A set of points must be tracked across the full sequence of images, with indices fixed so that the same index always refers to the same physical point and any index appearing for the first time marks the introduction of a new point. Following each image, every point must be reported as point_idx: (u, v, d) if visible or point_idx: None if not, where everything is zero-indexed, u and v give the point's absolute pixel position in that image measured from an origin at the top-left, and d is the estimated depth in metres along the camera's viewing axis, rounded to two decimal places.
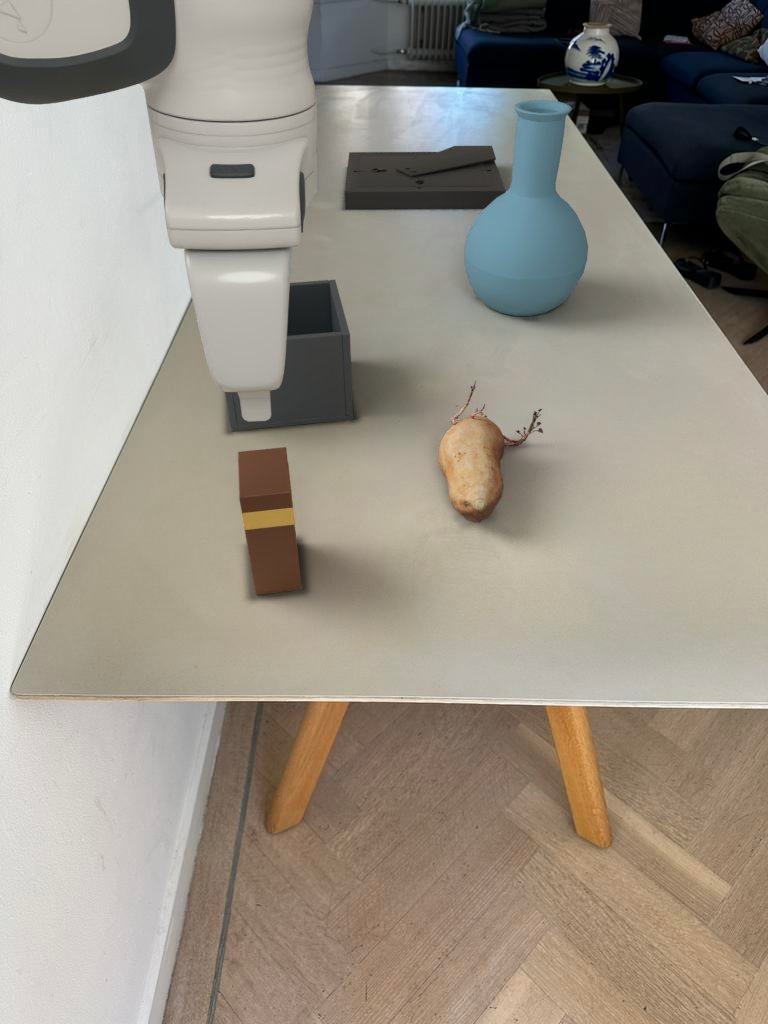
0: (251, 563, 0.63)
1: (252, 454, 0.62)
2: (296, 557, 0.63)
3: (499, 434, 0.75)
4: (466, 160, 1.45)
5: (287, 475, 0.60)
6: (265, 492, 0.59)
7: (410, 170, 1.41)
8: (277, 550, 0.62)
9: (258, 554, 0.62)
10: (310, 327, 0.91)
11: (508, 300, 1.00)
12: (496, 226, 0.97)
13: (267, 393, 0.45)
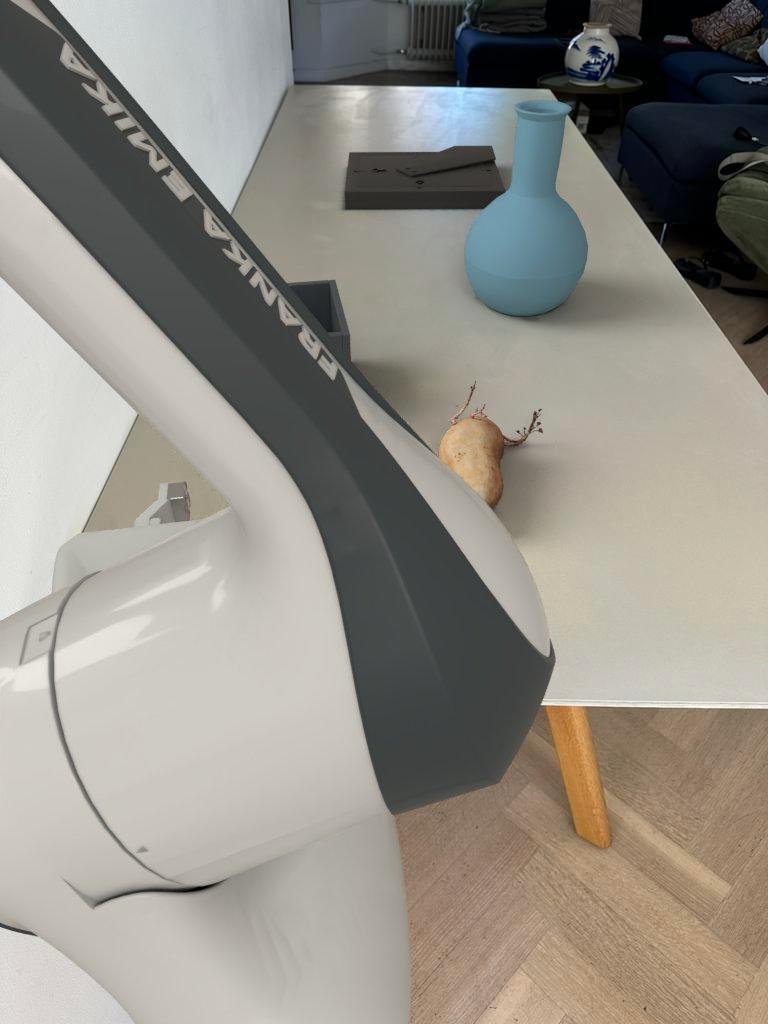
0: None
1: None
2: None
3: (499, 434, 0.75)
4: (466, 160, 1.45)
5: None
6: None
7: (410, 170, 1.41)
8: None
9: None
10: None
11: (508, 300, 1.00)
12: (496, 226, 0.97)
13: None
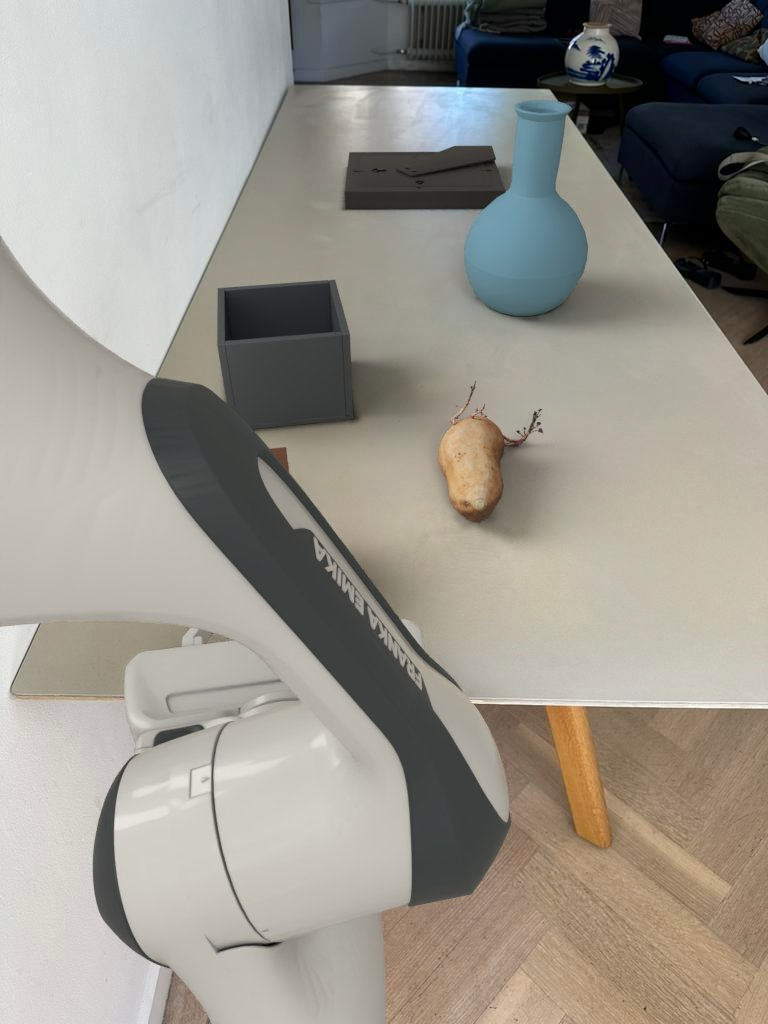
0: None
1: None
2: None
3: (499, 434, 0.75)
4: (466, 160, 1.45)
5: None
6: None
7: (410, 170, 1.41)
8: None
9: None
10: (310, 327, 0.91)
11: (508, 300, 1.00)
12: (496, 226, 0.97)
13: None
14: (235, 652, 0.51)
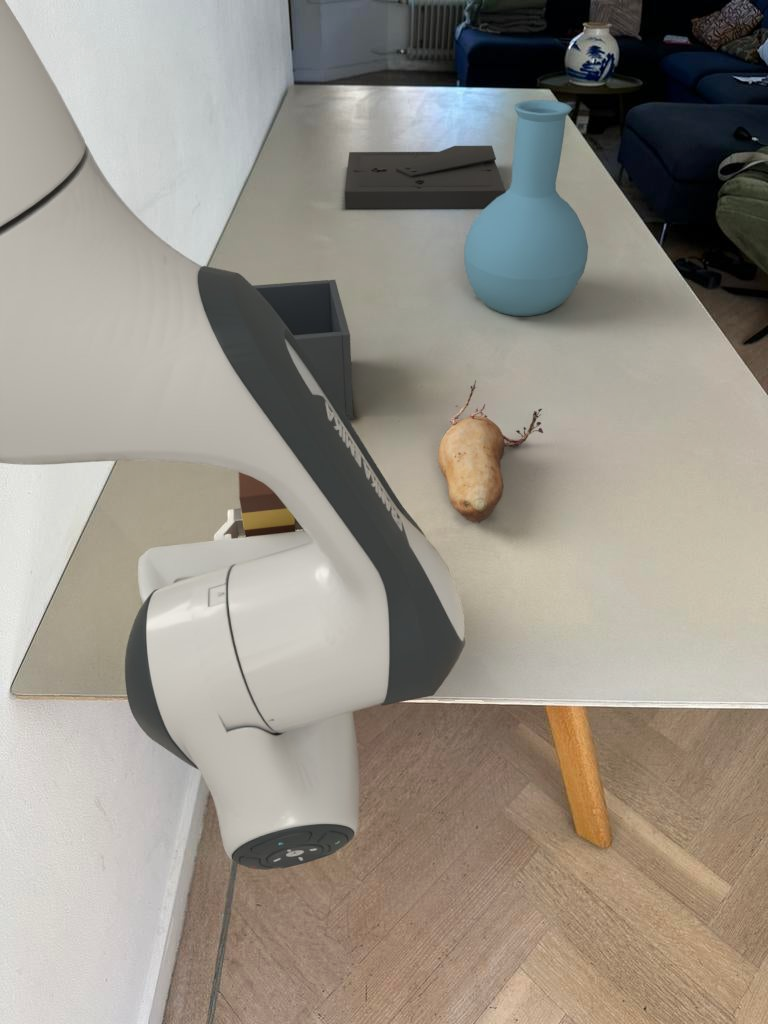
0: None
1: None
2: None
3: (499, 434, 0.75)
4: (466, 160, 1.45)
5: None
6: (265, 492, 0.59)
7: (410, 170, 1.41)
8: None
9: None
10: (310, 327, 0.91)
11: (508, 300, 1.00)
12: (496, 226, 0.97)
13: None
14: (234, 547, 0.59)
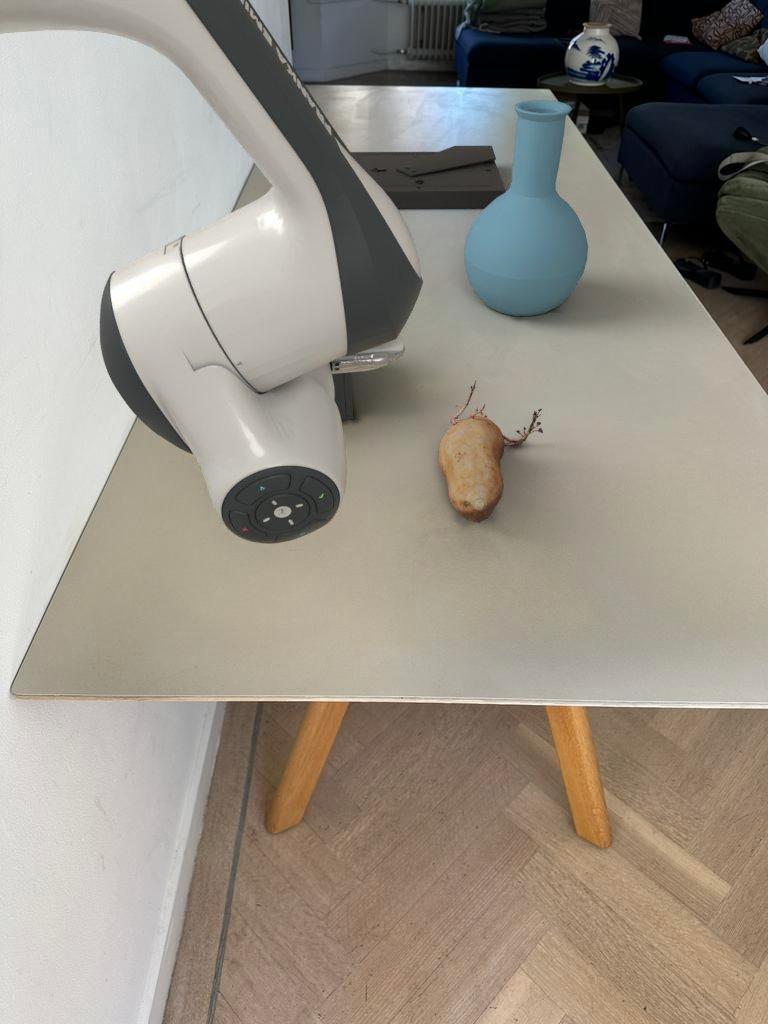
0: None
1: None
2: None
3: (499, 434, 0.75)
4: (466, 160, 1.45)
5: None
6: None
7: (410, 170, 1.41)
8: None
9: None
10: None
11: (508, 300, 1.00)
12: (496, 226, 0.97)
13: None
14: None
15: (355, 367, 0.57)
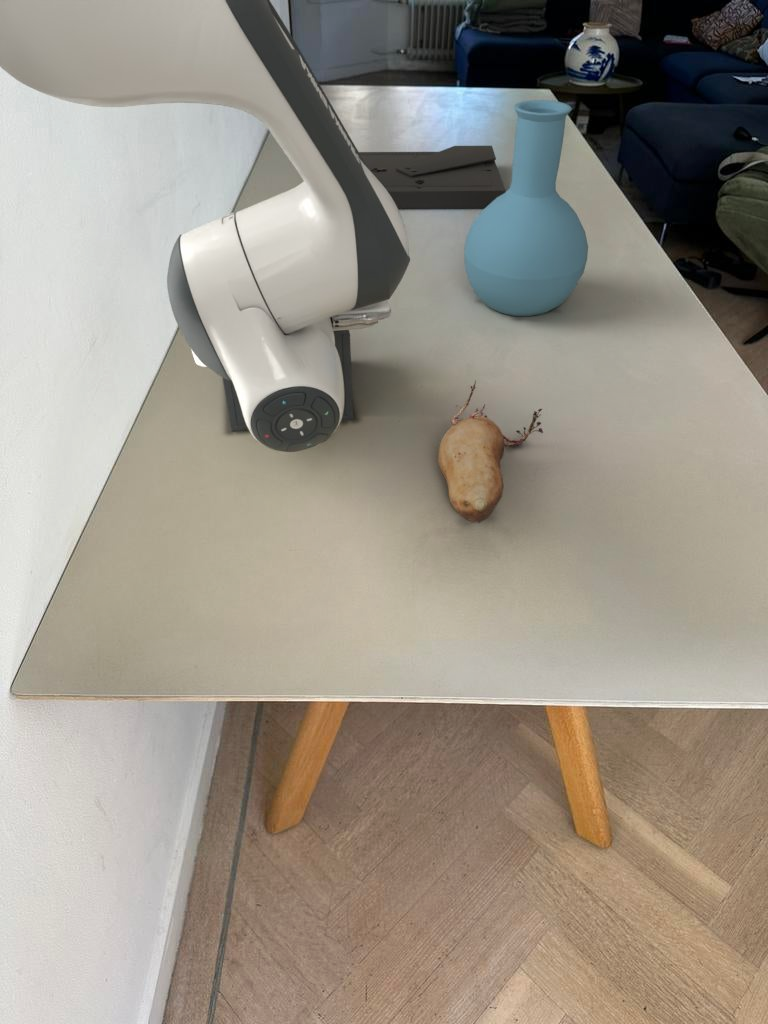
0: None
1: None
2: None
3: (499, 434, 0.75)
4: (466, 160, 1.45)
5: None
6: None
7: (410, 170, 1.41)
8: None
9: None
10: None
11: (508, 300, 1.00)
12: (496, 226, 0.97)
13: None
14: None
15: (351, 324, 0.71)
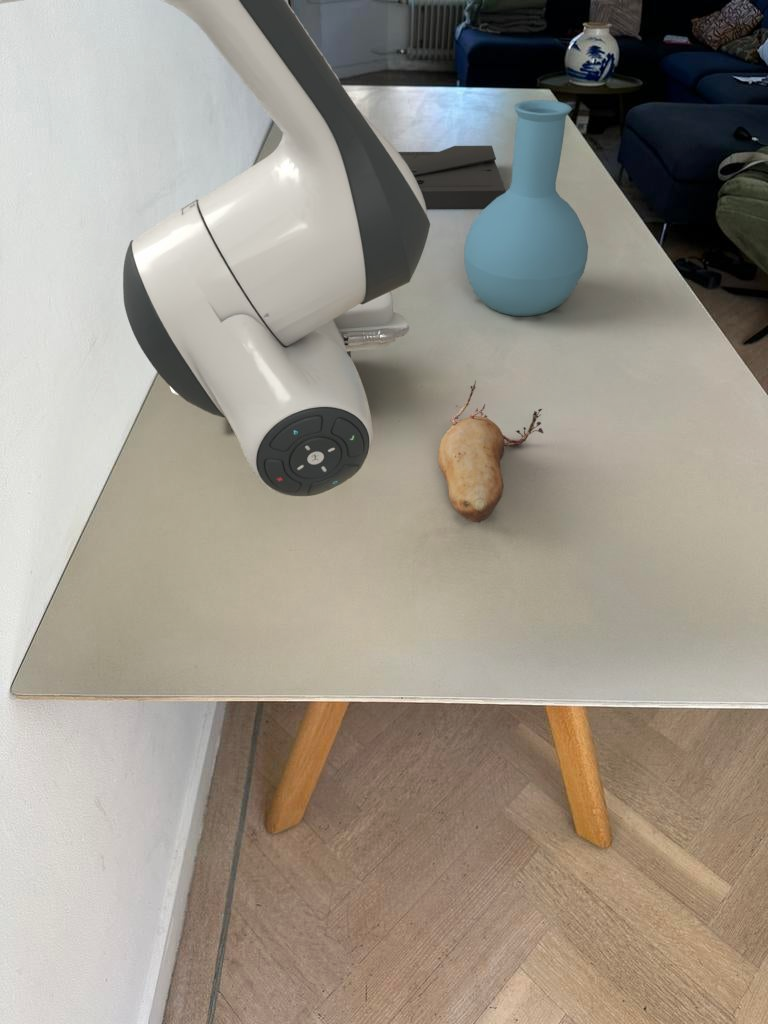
0: None
1: None
2: None
3: (499, 434, 0.75)
4: (466, 160, 1.45)
5: None
6: None
7: None
8: None
9: None
10: None
11: (508, 300, 1.00)
12: (496, 226, 0.97)
13: None
14: None
15: (363, 342, 0.59)
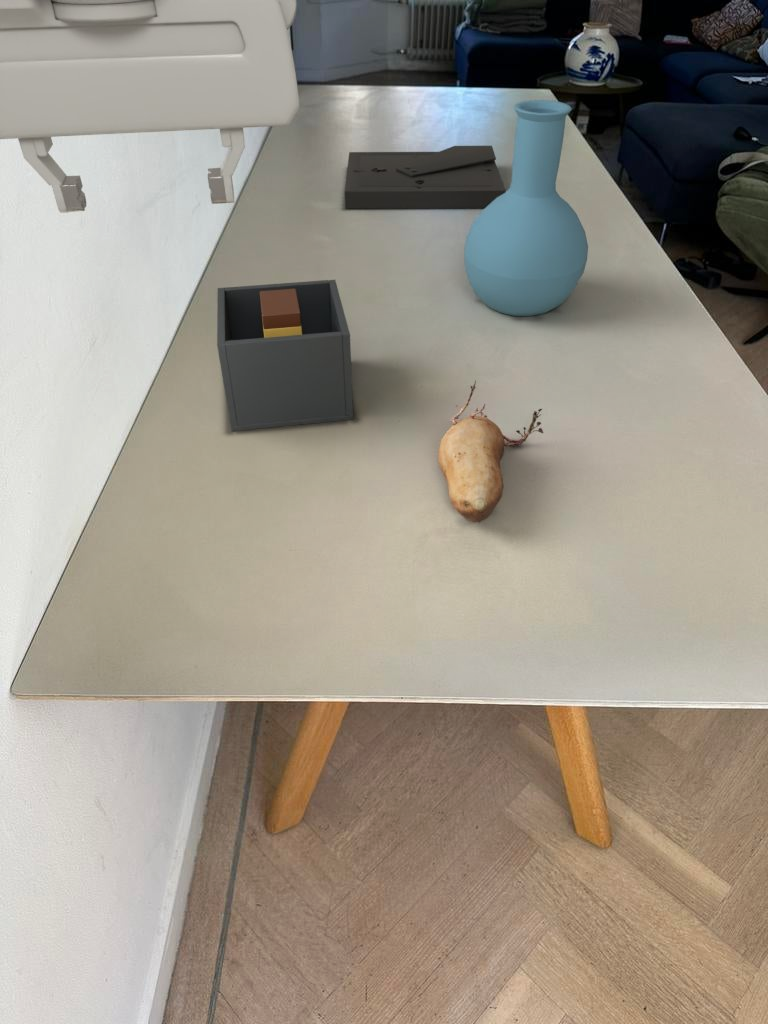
0: None
1: (270, 292, 0.84)
2: None
3: (499, 434, 0.75)
4: (466, 160, 1.45)
5: (297, 303, 0.82)
6: (281, 312, 0.80)
7: (410, 170, 1.41)
8: None
9: None
10: (310, 327, 0.91)
11: (508, 300, 1.00)
12: (496, 226, 0.97)
13: (43, 177, 0.46)
14: None
15: None
